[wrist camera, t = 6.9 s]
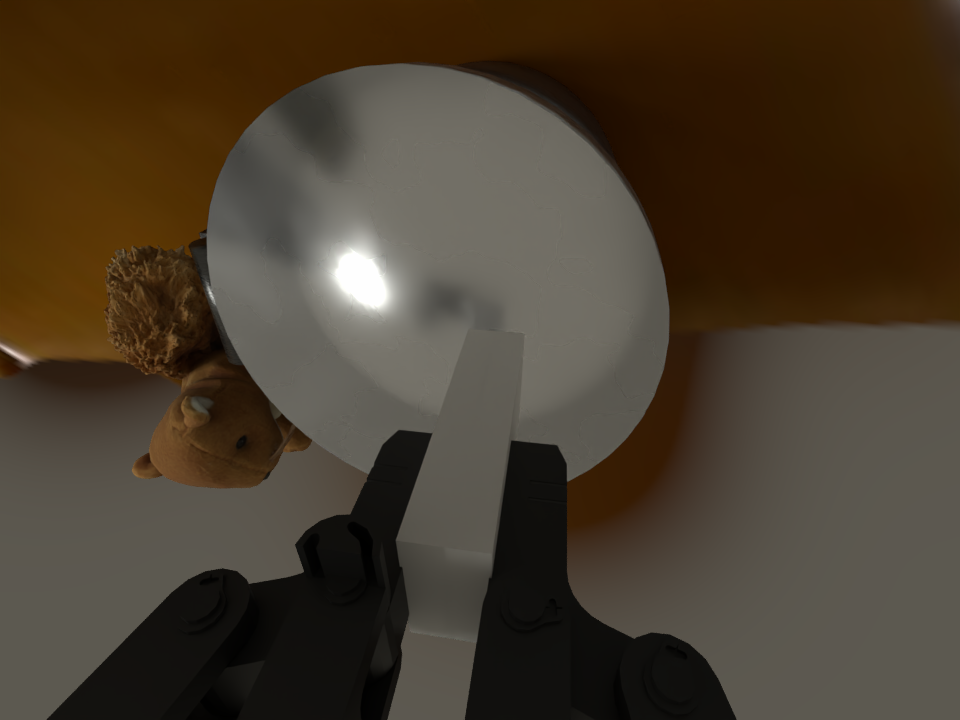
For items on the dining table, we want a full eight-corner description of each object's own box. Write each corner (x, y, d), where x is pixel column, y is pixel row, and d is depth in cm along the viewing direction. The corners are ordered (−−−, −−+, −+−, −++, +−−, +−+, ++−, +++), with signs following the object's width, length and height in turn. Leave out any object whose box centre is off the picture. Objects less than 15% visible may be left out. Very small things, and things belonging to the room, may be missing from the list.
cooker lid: (274, 438, 22) (255, 460, 21) (153, 59, 14) (110, 60, 12) (620, 501, 19) (621, 531, 18) (729, 65, 11) (742, 68, 10)
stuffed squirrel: (315, 411, 37) (210, 562, 26) (157, 278, 33) (-49, 395, 22) (399, 348, 33) (313, 499, 22) (229, 182, 28) (13, 269, 17)
